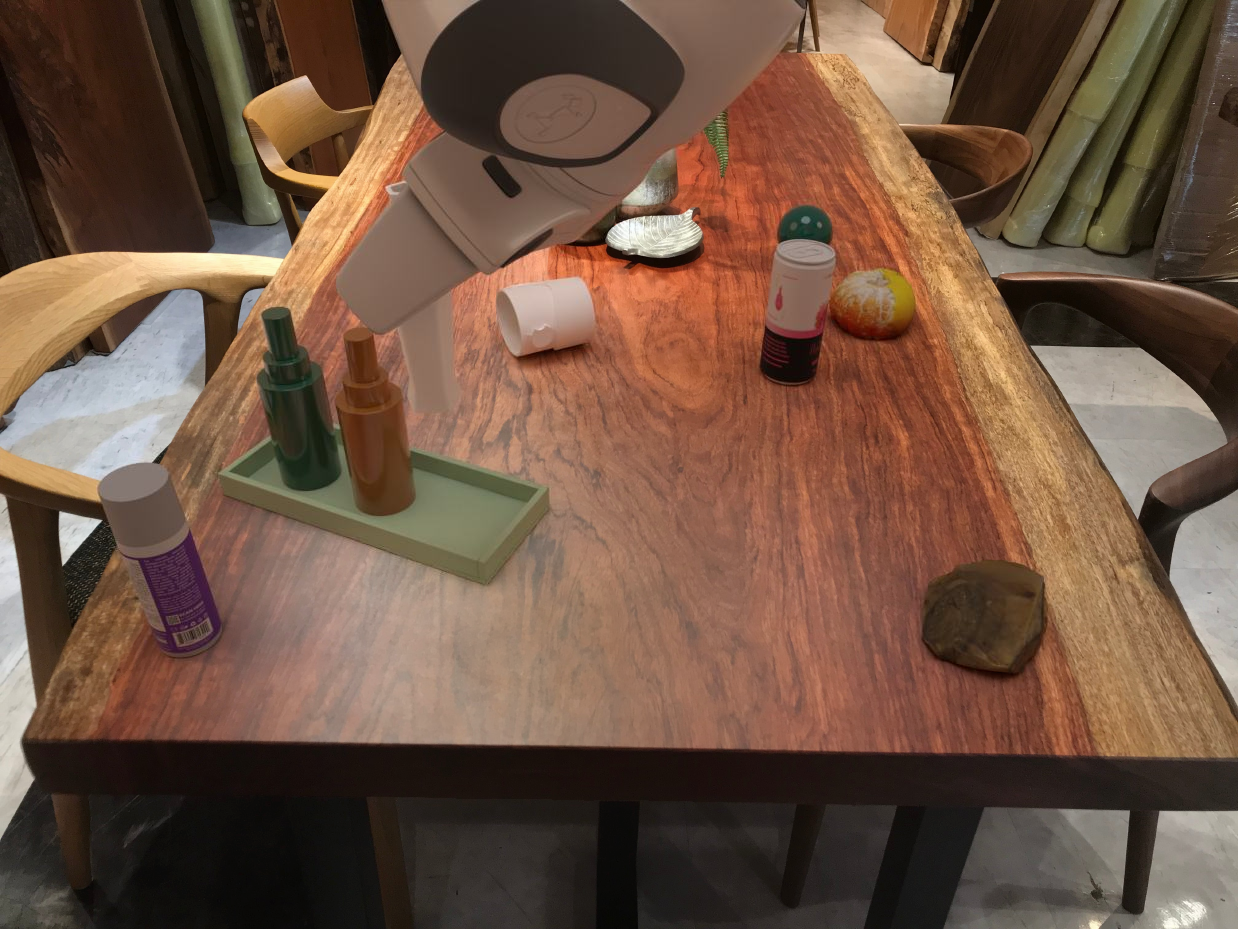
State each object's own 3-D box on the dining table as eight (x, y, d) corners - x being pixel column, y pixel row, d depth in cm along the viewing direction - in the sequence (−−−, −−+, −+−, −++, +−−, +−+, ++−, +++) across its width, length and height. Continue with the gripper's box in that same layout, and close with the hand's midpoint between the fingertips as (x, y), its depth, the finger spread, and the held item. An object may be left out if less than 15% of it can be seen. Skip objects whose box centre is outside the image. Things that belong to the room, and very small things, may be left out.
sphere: (767, 264, 129) (774, 210, 124) (780, 245, 135) (787, 193, 130) (822, 274, 127) (831, 219, 122) (833, 254, 133) (842, 201, 128)
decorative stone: (1040, 695, 67) (1055, 663, 64) (911, 656, 69) (922, 624, 67) (1043, 602, 74) (1057, 571, 72) (928, 570, 77) (938, 540, 75)
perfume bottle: (385, 405, 61) (345, 192, 52) (428, 376, 64) (397, 170, 55) (437, 426, 59) (404, 209, 50) (478, 395, 62) (455, 184, 53)
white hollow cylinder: (597, 356, 106) (598, 295, 102) (523, 371, 103) (520, 308, 98) (561, 314, 115) (560, 255, 110) (491, 327, 112) (487, 267, 107)
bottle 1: (316, 497, 83) (279, 333, 73) (268, 481, 84) (225, 319, 74) (354, 465, 87) (324, 305, 77) (308, 451, 89) (272, 293, 79)
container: (230, 612, 71) (180, 460, 63) (212, 657, 68) (156, 502, 59) (170, 614, 71) (111, 461, 62) (148, 658, 67) (82, 503, 59)
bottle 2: (392, 522, 80) (365, 356, 70) (341, 506, 82) (307, 341, 72) (428, 488, 84) (406, 326, 74) (378, 473, 86) (351, 312, 76)
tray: (549, 508, 83) (549, 486, 82) (486, 585, 75) (484, 563, 73) (305, 433, 92) (300, 412, 91) (223, 494, 84) (217, 473, 82)
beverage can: (826, 380, 103) (849, 257, 94) (777, 391, 101) (795, 266, 92) (796, 354, 108) (815, 235, 99) (749, 364, 106) (763, 243, 97)
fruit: (833, 293, 121) (861, 242, 116) (903, 329, 119) (935, 279, 114) (812, 326, 112) (841, 272, 107) (887, 365, 111) (920, 313, 106)
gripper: (590, 68, 55) (466, 198, 64) (393, 162, 40) (267, 316, 49) (654, 151, 56) (524, 268, 65) (486, 274, 41) (347, 404, 50)
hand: (412, 290), depth 57 cm, fingers closed on perfume bottle, 4 cm apart
